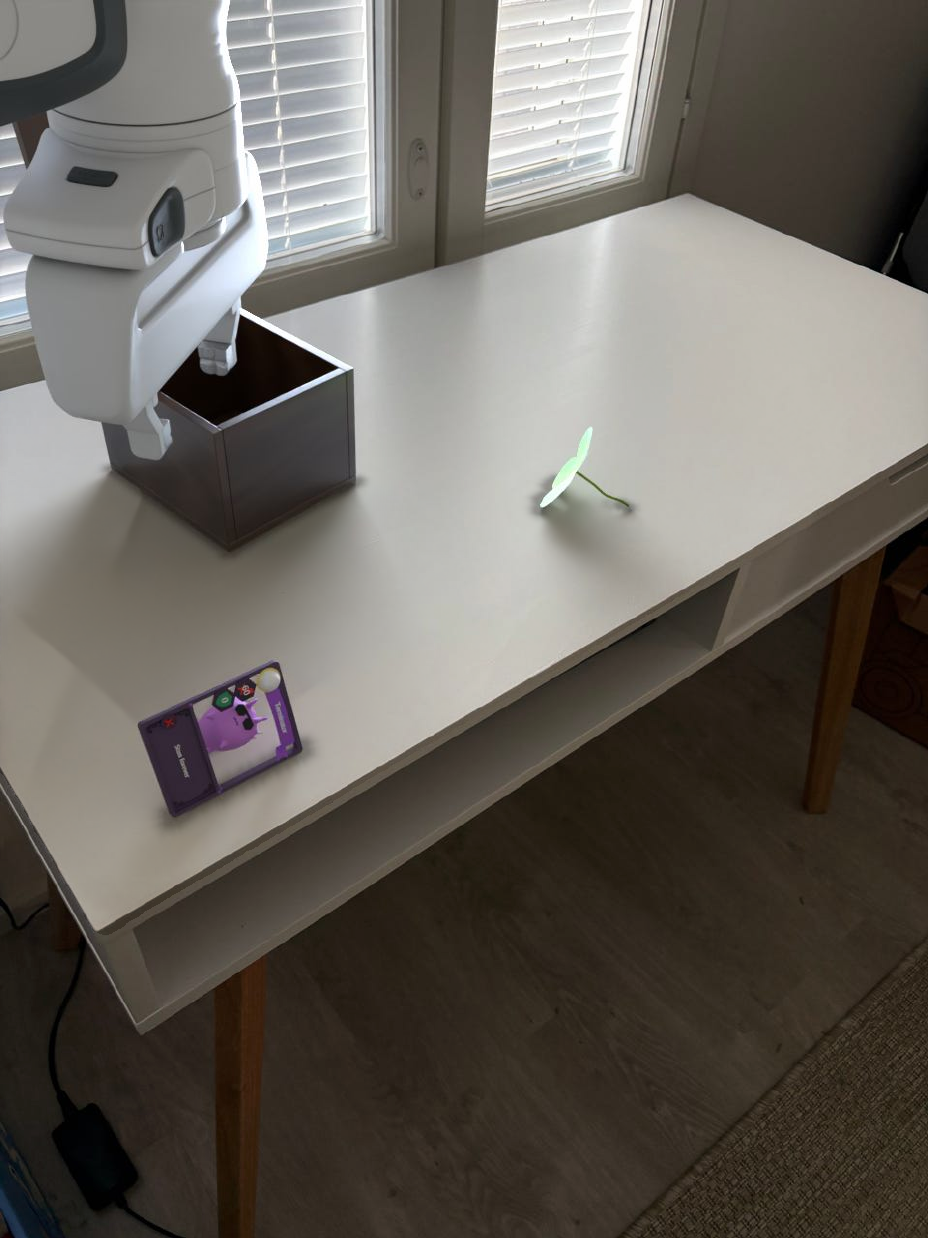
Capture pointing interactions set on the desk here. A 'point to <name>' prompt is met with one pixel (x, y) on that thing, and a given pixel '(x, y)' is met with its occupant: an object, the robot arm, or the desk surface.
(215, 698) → the game card
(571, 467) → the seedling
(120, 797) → the desk surface
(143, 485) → the case
